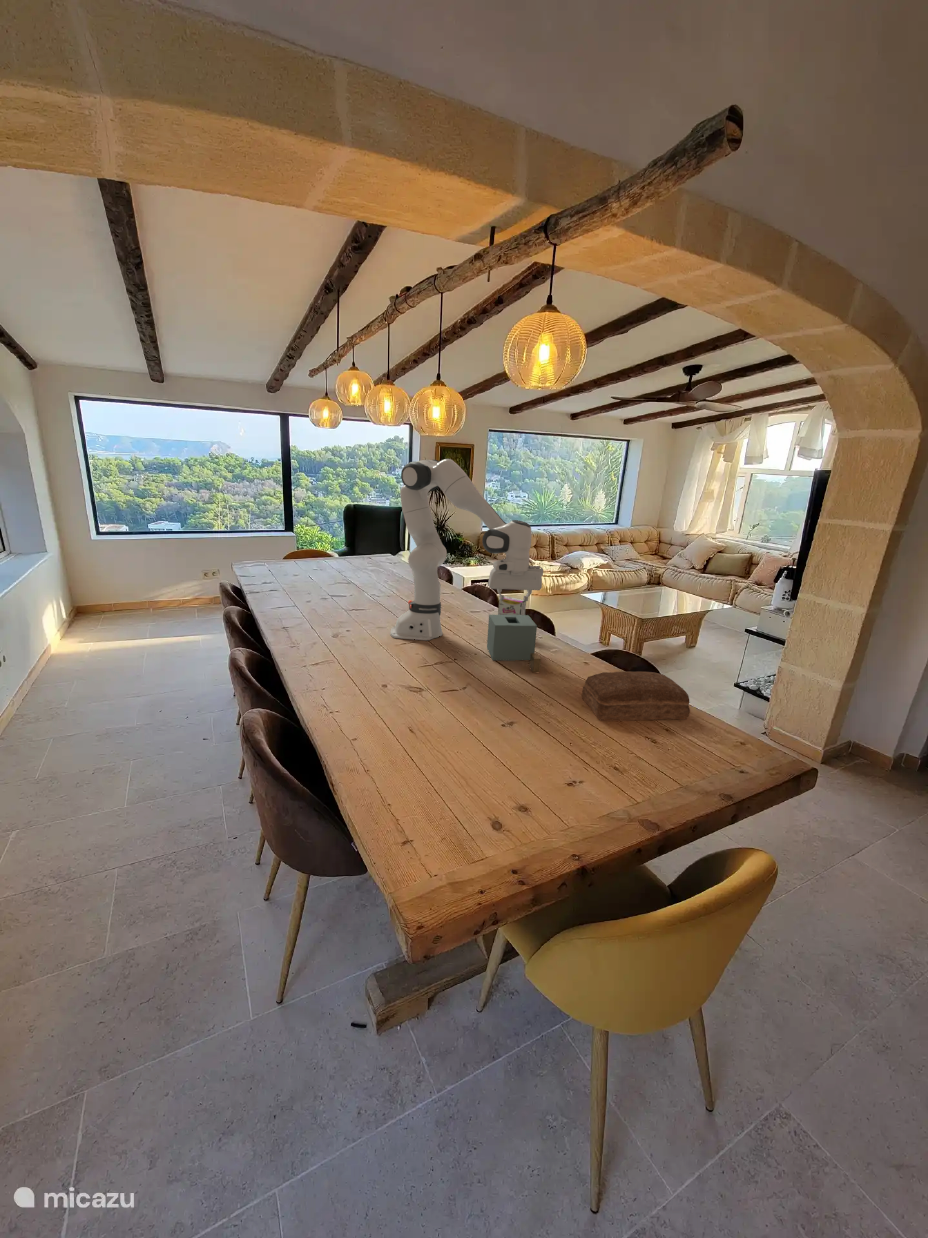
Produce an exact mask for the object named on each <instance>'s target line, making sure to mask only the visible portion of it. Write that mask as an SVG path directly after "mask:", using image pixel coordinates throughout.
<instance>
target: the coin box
mask: <svg viewBox="0 0 928 1238" xmlns="http://www.w3.org/2000/svg"><path fill="white" fill-rule="evenodd" d="M487 627H488V628H487V641H486V649H487V651H488V650H489V651H488V653H489V655H491V656H490V658H491V660H492V661H515V660H530V655H531V653H536V652H535V649H536V643H537V642H536V640H537V632H538V631H537V629H538V625H537V624H536V623H535V622H534V621H533V620H532V618H531V617H530V616H529V615H528V614H527V615H526V614H525V615H498V614H488V626H487Z"/></svg>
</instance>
